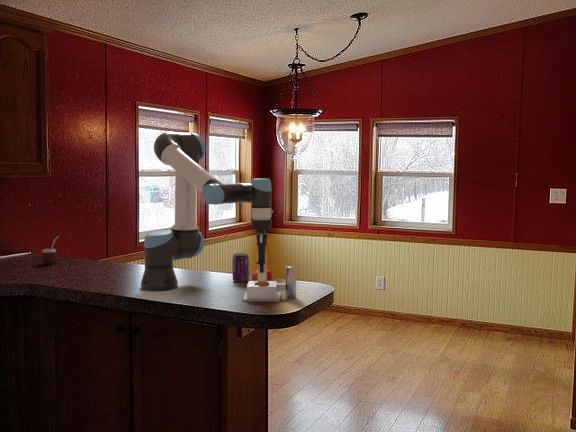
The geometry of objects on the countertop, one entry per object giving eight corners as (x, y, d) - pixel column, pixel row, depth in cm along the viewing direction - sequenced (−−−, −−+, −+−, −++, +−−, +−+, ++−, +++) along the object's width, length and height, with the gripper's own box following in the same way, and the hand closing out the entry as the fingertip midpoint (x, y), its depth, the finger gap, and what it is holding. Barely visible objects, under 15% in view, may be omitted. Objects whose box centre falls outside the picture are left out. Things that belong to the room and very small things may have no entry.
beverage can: (246, 283, 260) (246, 255, 259) (230, 282, 262) (230, 255, 261) (250, 279, 267) (250, 253, 266) (235, 279, 268) (235, 252, 267)
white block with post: (242, 301, 225) (242, 269, 224) (245, 294, 237) (244, 264, 236) (296, 301, 225) (296, 269, 224) (295, 294, 237) (295, 264, 236)
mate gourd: (40, 264, 310) (38, 235, 309) (55, 262, 315) (54, 234, 314) (45, 266, 304) (44, 236, 303) (61, 264, 310) (60, 235, 308)
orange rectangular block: (257, 289, 229) (257, 252, 228) (257, 287, 233) (257, 251, 232) (266, 289, 229) (266, 252, 228) (267, 287, 233) (266, 251, 232)
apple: (264, 290, 245) (264, 266, 244) (247, 288, 249) (247, 264, 248) (275, 287, 252) (275, 263, 251) (259, 285, 256) (259, 261, 255)
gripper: (270, 220, 220) (271, 283, 222) (272, 216, 237) (272, 275, 239) (250, 220, 220) (250, 284, 222) (253, 217, 237) (253, 275, 239)
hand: (262, 279), depth 231 cm, fingers closed on orange rectangular block, 3 cm apart
